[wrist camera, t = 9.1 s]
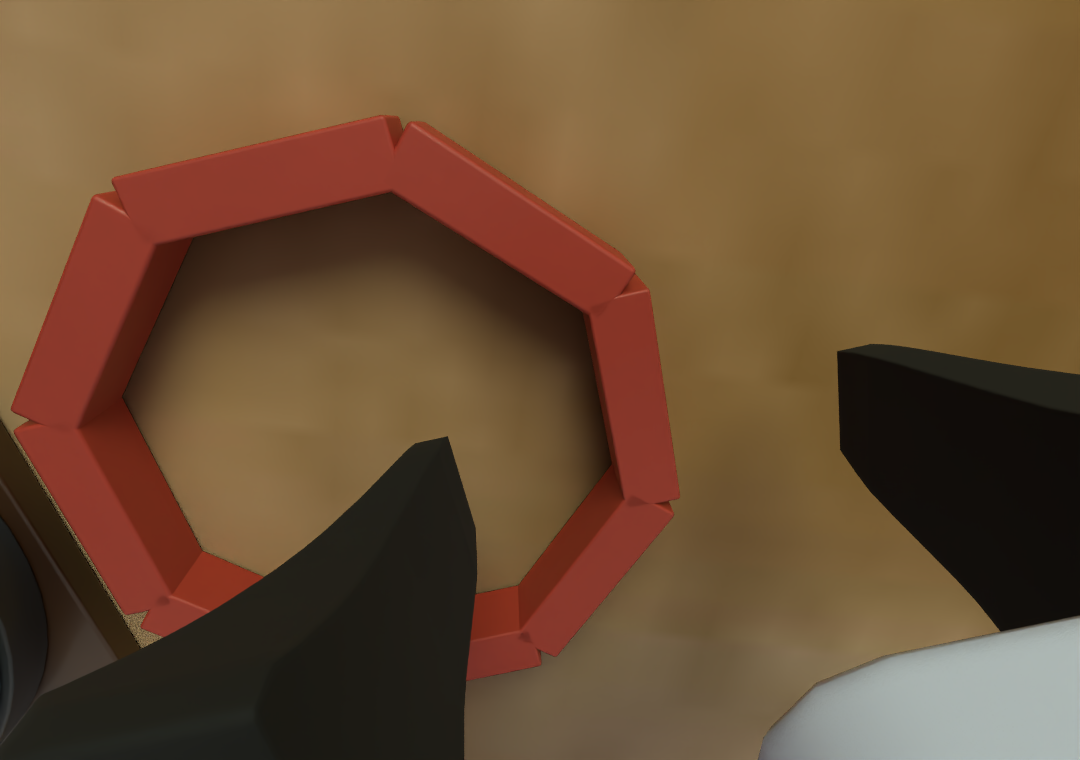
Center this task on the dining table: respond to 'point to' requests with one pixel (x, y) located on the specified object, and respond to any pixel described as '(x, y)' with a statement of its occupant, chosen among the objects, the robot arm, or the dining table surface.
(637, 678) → the dining table surface
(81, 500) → the brick ring
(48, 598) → the stand
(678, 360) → the dining table surface
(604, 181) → the dining table surface
